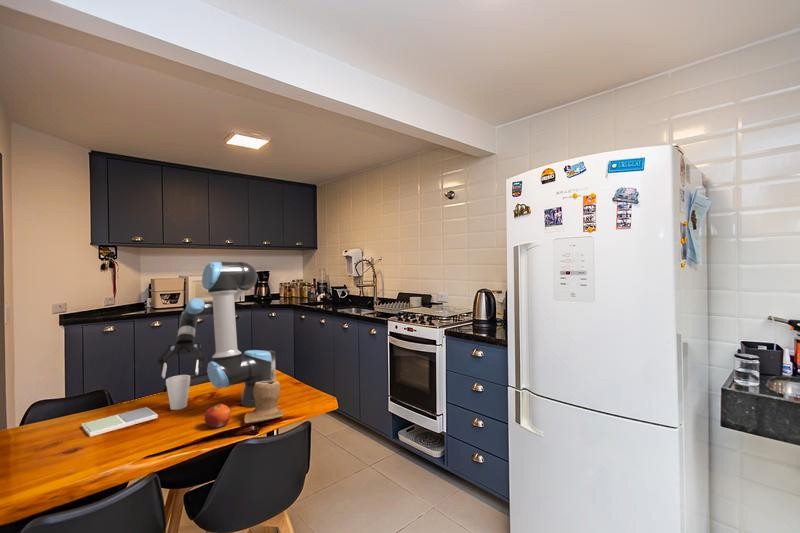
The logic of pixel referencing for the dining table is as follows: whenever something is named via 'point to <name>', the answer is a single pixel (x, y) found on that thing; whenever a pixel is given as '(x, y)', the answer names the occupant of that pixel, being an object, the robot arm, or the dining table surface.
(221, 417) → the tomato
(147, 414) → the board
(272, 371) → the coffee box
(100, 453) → the dining table surface
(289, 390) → the dining table surface
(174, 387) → the foam cup
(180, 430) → the dining table surface
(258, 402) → the stone cup
